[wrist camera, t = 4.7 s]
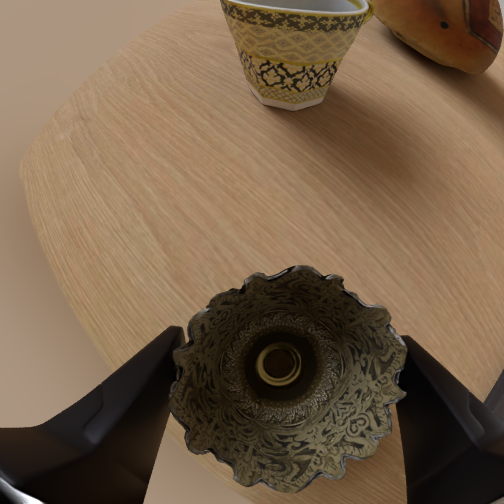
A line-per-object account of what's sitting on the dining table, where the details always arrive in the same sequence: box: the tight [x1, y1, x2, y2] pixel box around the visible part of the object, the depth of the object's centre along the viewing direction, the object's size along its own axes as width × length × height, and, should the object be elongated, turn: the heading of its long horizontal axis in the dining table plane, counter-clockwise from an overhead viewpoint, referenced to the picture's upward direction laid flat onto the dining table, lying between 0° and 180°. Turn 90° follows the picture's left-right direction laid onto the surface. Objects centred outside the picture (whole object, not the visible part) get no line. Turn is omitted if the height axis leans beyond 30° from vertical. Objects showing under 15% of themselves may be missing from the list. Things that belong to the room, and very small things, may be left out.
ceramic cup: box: [220, 0, 374, 111], centre depth 16 cm, size 13×10×10 cm
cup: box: [168, 265, 407, 493], centre depth 11 cm, size 8×7×8 cm
